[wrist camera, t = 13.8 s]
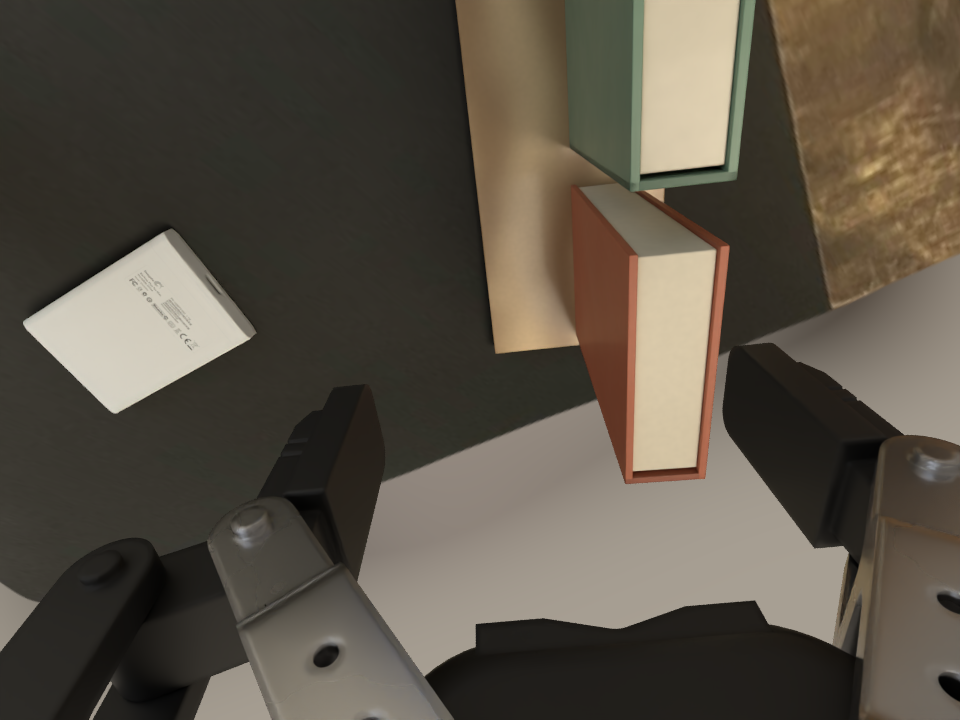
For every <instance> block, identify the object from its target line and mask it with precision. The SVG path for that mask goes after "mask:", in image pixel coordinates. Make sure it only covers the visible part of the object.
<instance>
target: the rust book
mask: <svg viewBox="0 0 960 720" xmlns="http://www.w3.org/2000/svg"><path fill="white" fill-rule="evenodd" d="M571 203H572V233H573V263H574V292H575V322H576V336H577V339H578V342H579V345H580V348H581V351H582V354H583V357H584V360H585V363H586V366H587V369H588V372H589V375H590V378H591V381H592V384H593V387H594V390H595V393H596V396H597V399H598V402H599V405H600V408H601V411H602V414H603V418H604V421H605V423H606V426H607V429H608V433H609V436H610V439H611V442H612V445H613V448H614V451H615V454H616V457H617V460H618V463H619V466H620V469H621V472H622V475H623V478H624V481H625V484H633V483H648V482H662V481H678V480H692V479H705V475H706V466H707V456H708V447H709V437H710V428H711V418H712V409H713V399H714V390H715V381H716V371H717V361H718V352H719V343H720V333H721V324H722V314H723V305H724V295H725V286H726V276H727V267H728V257H729V248H730V246H729V245H728V244H727V243H725V242H723V241H722V240H720V239H719V238H717V237H716V236H714V235H713V234H711V233H709V232H708V231H706V230H705V229H703V228H702V227H700V226H699V225H697V224H695V223H694V222H692V221H691V220H689V219H688V218H686V217H685V216H683V215H682V214H680V213H678V212H677V211H675V210H674V209H672V208H671V207H669V206H668V205H666V204H664V203H663V202H661V201H660V200H658V199H657V198H655V197H654V196H652V195H650V194H649V193H647V192H646V191H635V192H630V191H628V190H627V189H626V188H624V187H623V186H621V185H620V184H619V183H614V184H605V185H596V186H588V187H579V188H578V186H577V185H571Z"/></svg>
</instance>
